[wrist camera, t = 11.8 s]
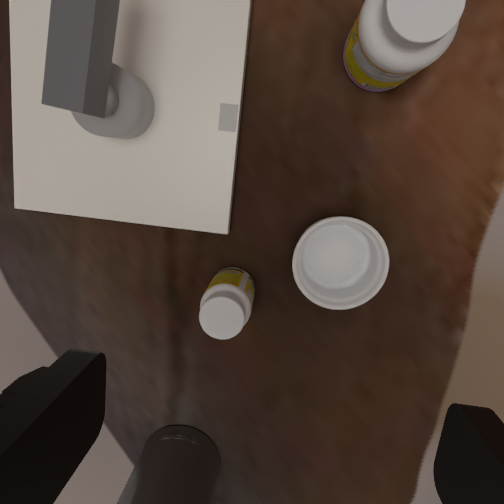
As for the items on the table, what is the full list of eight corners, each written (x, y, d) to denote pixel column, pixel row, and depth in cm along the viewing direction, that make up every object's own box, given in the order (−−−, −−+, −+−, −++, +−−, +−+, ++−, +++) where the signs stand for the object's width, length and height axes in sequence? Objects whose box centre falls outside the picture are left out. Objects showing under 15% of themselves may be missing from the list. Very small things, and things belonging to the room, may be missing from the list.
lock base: (229, 231, 41) (220, 243, 35) (23, 206, 42) (-18, 213, 37) (252, -7, 36) (246, -39, 30) (18, -29, 37) (-31, -63, 31)
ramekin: (307, 199, 40) (309, 204, 36) (391, 226, 40) (404, 233, 36) (280, 280, 42) (279, 294, 38) (360, 305, 42) (369, 321, 38)
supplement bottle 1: (202, 288, 43) (182, 319, 35) (230, 257, 42) (217, 280, 34) (235, 317, 43) (224, 354, 35) (264, 287, 42) (260, 317, 34)
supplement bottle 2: (389, -3, 35) (446, -92, 23) (430, 60, 36) (507, 8, 24) (326, 49, 37) (349, -9, 24) (368, 108, 38) (410, 82, 25)
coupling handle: (116, 121, 33) (82, 113, 28) (80, 113, 34) (40, 103, 28) (135, -18, 31) (103, -57, 25) (97, -26, 31) (56, -67, 26)
